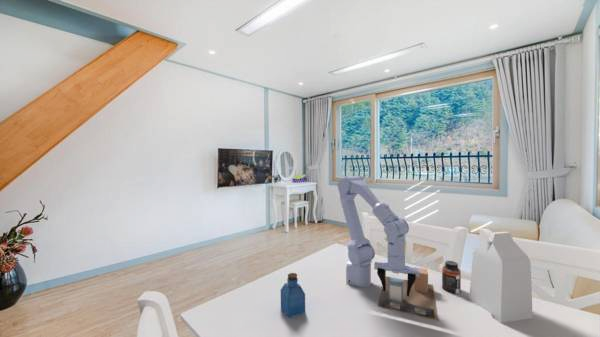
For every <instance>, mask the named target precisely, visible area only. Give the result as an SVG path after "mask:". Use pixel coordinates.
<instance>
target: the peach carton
mask: <svg viewBox="0 0 600 337" xmlns="http://www.w3.org/2000/svg"><path fill="white" fill-rule="evenodd" d="M413 268H416V269H419V277H416V280H415V282H414V290H415V291H420V292H426V293H427V291H428V284H429V271H428V269H427V268H423V267H415V266H414V267H413Z"/></svg>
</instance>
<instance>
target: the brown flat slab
mask: <svg viewBox="0 0 600 337" xmlns="http://www.w3.org/2000/svg"><path fill="white" fill-rule="evenodd" d="M390 277H391V276H388V275H387V276H386V277H385V279H386V290H385V291H383V287H382V286H381V289H380V294H379V298H378V302H377V307H380V308H383V309H384V308H385V309H389V310H393V311H396V312H401V313H406V314H409V315H414V316H418V317H422V318H426V319H430V320H436V321H439V317H438V311H437V310H438V308H437V304H436V296H435V290H434V284H431V283H428V291H427V293H426V292H420V291H415V290H414V283H413V285H412V287H411V290H410V293H409V296H407V286H408V279H403V302H399V301H394V300H390V299H389V279H390Z"/></svg>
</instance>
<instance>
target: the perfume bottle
mask: <svg viewBox="0 0 600 337" xmlns="http://www.w3.org/2000/svg"><path fill="white" fill-rule="evenodd" d="M281 308H282V309H283V310H282V311H283V313H284V312H285V313H286V314H285V313H284V314H285V315H286V317H287V316H288V317H290V318H292V317H291V316H293V317H295V316H298V315H301V314H304V313H306V293H305V291H304V290H303V288H302V286H301V285H300V283H298V274H297V273H296V272H290V273H288V274H287V282H286V283H284V284H283V286H282V287H281V289H280V309H281ZM303 312H304V313H303ZM300 313H301V314H300ZM297 314H298V315H297ZM294 315H295V316H294ZM288 317H287V318H288Z"/></svg>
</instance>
